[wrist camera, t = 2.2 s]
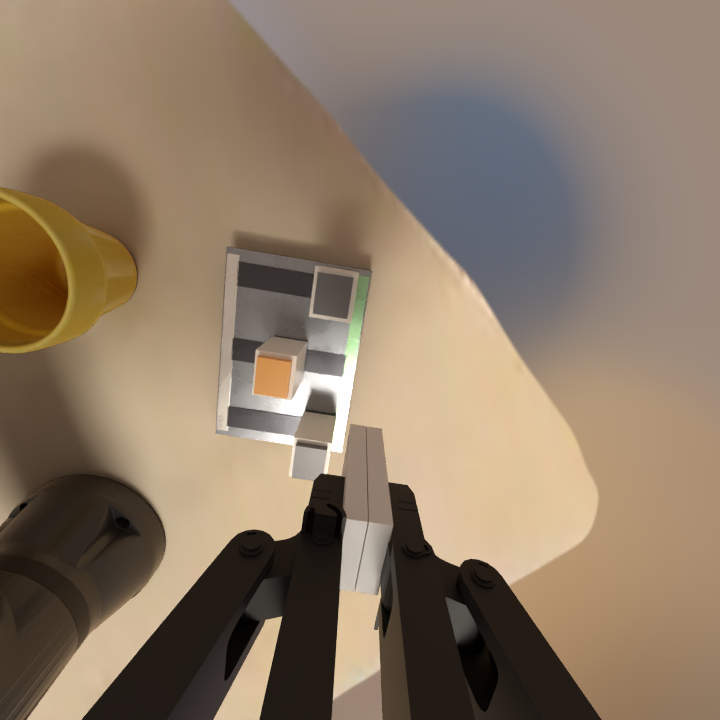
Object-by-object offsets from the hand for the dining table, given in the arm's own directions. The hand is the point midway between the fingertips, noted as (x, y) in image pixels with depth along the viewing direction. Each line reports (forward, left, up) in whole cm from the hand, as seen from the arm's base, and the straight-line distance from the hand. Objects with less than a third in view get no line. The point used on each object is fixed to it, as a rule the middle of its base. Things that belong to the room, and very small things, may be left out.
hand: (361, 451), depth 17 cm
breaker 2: (-3, +6, -14) cm, 16 cm away
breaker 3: (-3, -7, -14) cm, 16 cm away
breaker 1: (-7, 0, -14) cm, 15 cm away
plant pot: (-24, +5, -17) cm, 30 cm away
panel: (-7, 0, -16) cm, 18 cm away
